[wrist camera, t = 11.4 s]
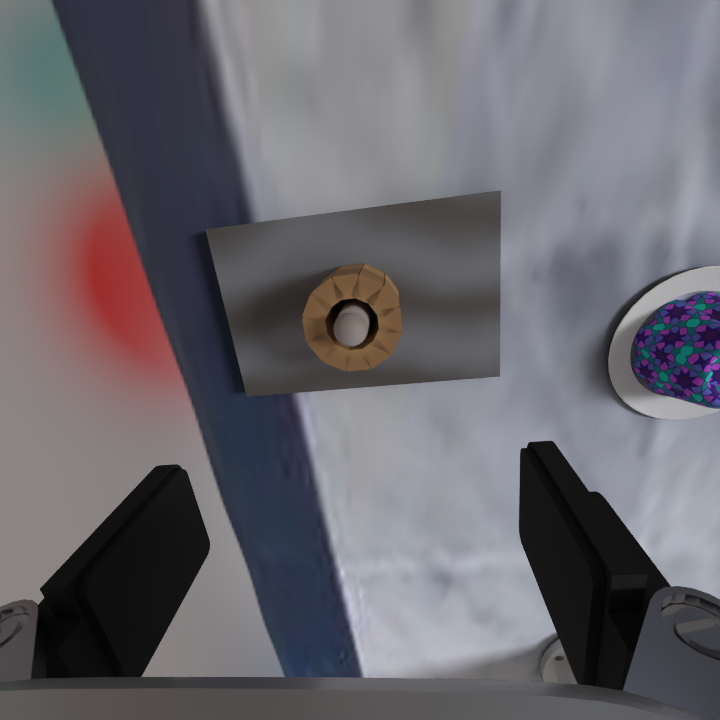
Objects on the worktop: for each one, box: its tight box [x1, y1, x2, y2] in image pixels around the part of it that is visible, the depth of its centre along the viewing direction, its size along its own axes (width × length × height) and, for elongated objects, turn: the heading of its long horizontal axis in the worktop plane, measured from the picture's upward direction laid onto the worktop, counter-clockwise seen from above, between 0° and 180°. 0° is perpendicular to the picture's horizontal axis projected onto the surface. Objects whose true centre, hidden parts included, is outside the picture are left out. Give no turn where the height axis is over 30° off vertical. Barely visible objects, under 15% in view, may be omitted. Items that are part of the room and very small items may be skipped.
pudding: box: [608, 266, 720, 420], centre depth 27 cm, size 12×12×5 cm
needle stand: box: [205, 191, 501, 397], centre depth 26 cm, size 13×20×8 cm, turn 97°
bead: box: [302, 263, 403, 371], centre depth 26 cm, size 6×6×5 cm
